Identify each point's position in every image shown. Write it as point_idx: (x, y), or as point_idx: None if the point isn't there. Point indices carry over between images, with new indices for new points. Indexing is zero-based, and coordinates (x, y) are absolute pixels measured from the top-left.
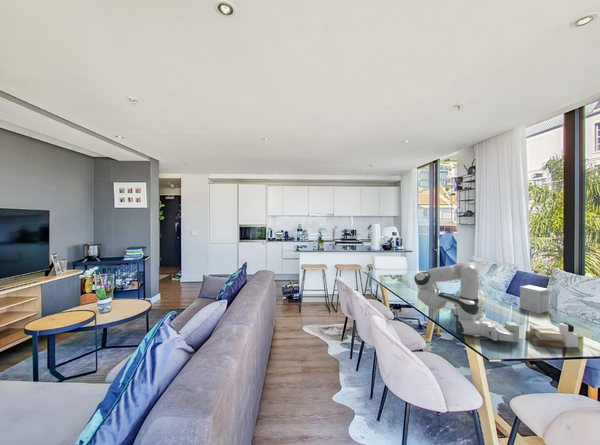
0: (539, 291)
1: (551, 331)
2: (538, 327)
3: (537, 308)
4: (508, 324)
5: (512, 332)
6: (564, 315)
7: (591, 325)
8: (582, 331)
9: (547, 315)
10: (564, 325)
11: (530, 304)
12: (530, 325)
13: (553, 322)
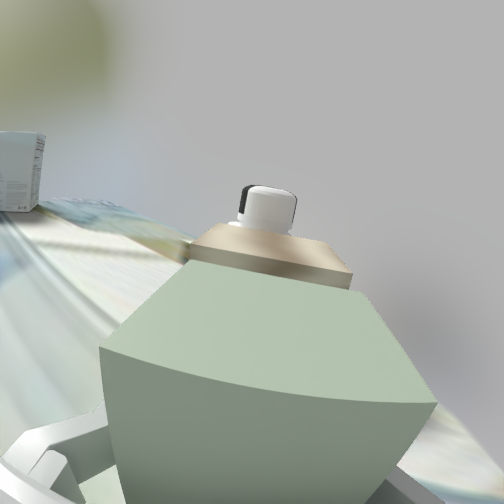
0: (36, 134)
1: (300, 243)
2: (238, 241)
3: (26, 195)
4: (368, 405)
5: (421, 487)
6: (70, 205)
7: (131, 212)
8: (153, 228)
9: (47, 212)
10: (285, 194)
11: (9, 187)
12: (196, 244)
13: (81, 224)
